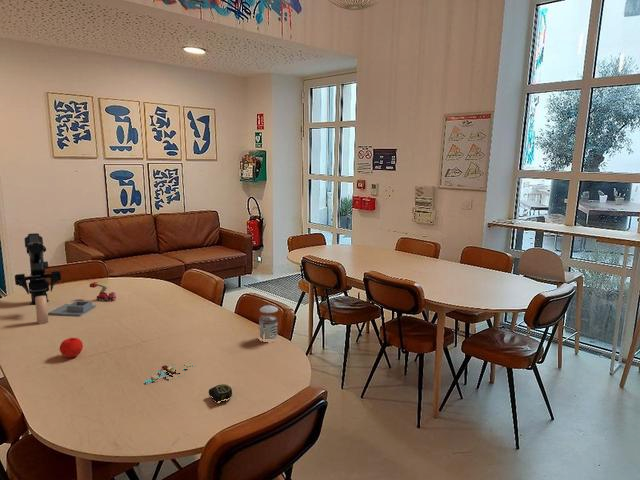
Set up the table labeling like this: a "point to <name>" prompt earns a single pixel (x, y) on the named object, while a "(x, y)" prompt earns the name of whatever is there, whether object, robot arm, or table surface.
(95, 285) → the toy fire truck
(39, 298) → the peg
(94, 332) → the table surface
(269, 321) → the french press
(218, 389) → the tape measure
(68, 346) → the apple
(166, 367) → the gear mechanism
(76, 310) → the jig cradle
